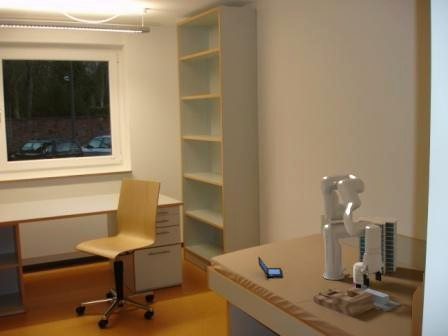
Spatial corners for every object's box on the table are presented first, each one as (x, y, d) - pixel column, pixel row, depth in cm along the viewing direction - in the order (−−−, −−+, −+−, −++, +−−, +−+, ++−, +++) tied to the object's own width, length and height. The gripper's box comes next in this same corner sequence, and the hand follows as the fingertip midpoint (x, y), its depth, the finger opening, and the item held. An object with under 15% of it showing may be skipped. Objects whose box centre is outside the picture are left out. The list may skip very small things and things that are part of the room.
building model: (357, 271, 285) (357, 222, 282) (362, 263, 300) (361, 216, 297) (393, 275, 277) (393, 224, 273) (396, 266, 292) (396, 218, 288)
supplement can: (350, 290, 256) (350, 263, 255) (362, 287, 260) (362, 260, 258) (360, 295, 249) (360, 267, 247) (372, 292, 252) (372, 264, 251)
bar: (363, 298, 243) (363, 290, 243) (368, 296, 246) (368, 288, 245) (383, 305, 234) (383, 297, 233) (389, 302, 236) (389, 295, 236)
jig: (313, 302, 243) (313, 288, 242) (334, 294, 252) (334, 281, 252) (352, 317, 224) (352, 302, 223) (373, 307, 233) (373, 293, 232)
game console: (282, 278, 280) (282, 263, 279) (259, 278, 281) (258, 263, 280) (281, 269, 295) (280, 255, 294) (258, 270, 296) (258, 255, 295)
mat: (369, 295, 249) (369, 293, 249) (400, 305, 235) (400, 303, 235) (356, 300, 243) (356, 299, 242) (387, 311, 228) (387, 310, 228)
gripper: (376, 244, 246) (376, 276, 249) (355, 251, 236) (355, 285, 238) (389, 247, 240) (389, 280, 243) (368, 255, 230) (367, 289, 232)
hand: (372, 282), depth 240 cm, fingers open, 9 cm apart
